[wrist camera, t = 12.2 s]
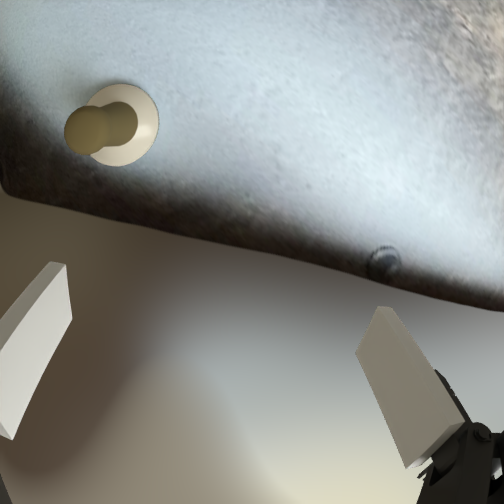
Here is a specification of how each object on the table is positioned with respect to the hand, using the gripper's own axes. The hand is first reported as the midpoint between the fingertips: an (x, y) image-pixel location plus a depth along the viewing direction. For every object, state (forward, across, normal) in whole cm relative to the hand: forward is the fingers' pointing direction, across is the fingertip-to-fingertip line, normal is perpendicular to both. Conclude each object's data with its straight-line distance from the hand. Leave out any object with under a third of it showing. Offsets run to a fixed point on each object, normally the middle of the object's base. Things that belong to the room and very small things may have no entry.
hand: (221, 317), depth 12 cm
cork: (+30, -15, +4) cm, 34 cm away
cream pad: (+32, -15, +4) cm, 35 cm away
